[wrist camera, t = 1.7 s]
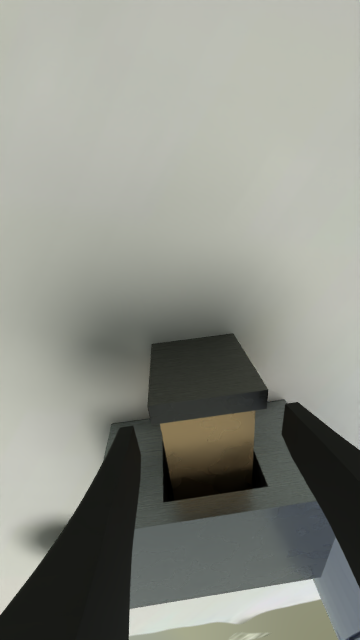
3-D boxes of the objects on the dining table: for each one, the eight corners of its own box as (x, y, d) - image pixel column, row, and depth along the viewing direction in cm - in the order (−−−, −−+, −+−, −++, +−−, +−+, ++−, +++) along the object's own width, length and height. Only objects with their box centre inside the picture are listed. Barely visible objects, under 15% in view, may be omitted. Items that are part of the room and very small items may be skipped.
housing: (284, 399, 18) (350, 495, 12) (275, 476, 23) (321, 577, 16) (111, 424, 18) (85, 536, 12) (135, 497, 22) (125, 609, 16)
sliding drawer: (233, 333, 16) (268, 389, 11) (233, 436, 20) (258, 511, 15) (151, 344, 15) (147, 406, 10) (169, 445, 20) (173, 524, 15)
